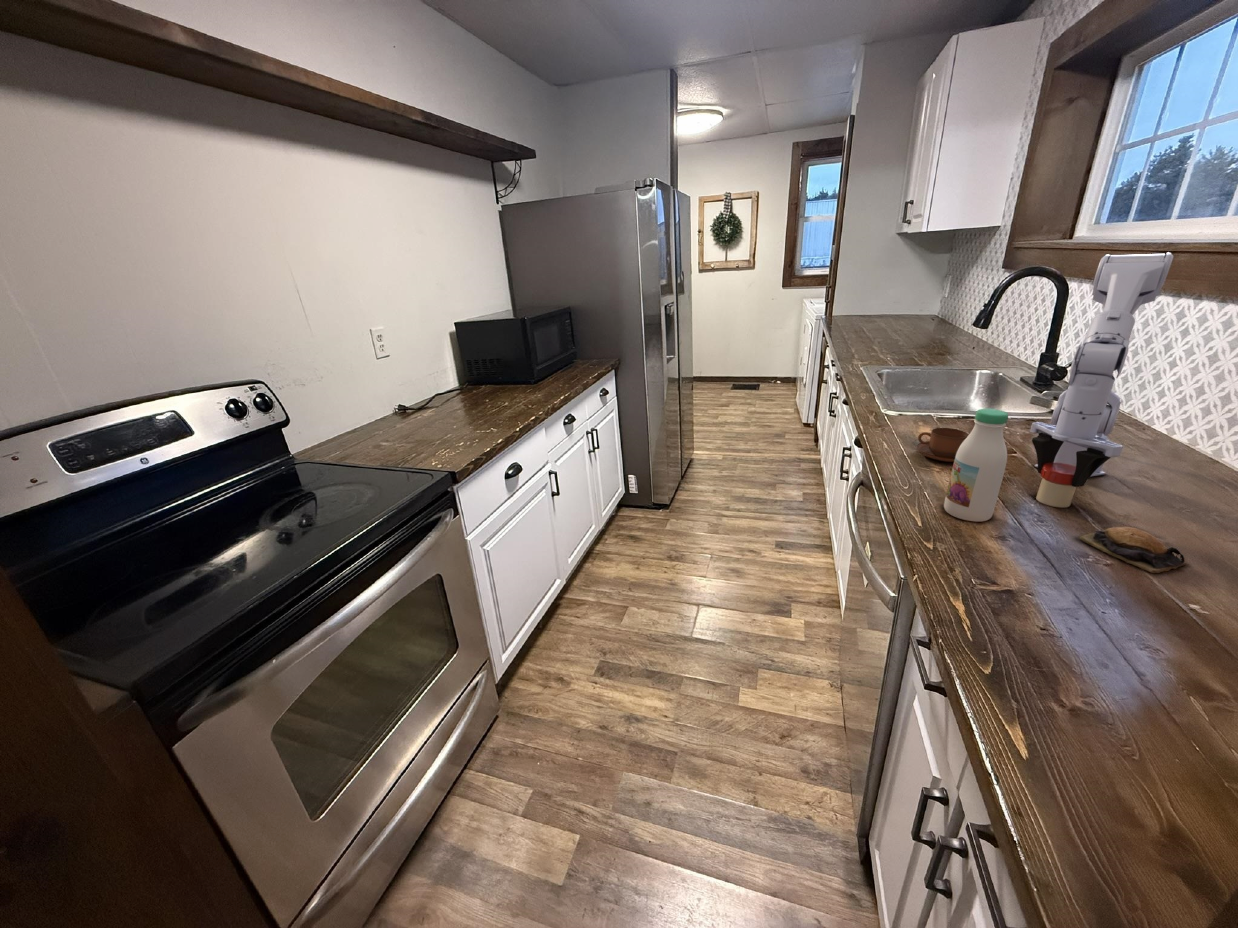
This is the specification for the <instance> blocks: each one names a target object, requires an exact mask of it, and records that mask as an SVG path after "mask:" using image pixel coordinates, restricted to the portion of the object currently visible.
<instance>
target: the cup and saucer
mask: <svg viewBox="0 0 1238 928" xmlns="http://www.w3.org/2000/svg"><path fill="white" fill-rule="evenodd" d="M968 435H969V433H968V432H966V431H964V430H961V429H957V428H951V427H935V428H933V429H932V430H931V432H926V431H924V432H920V433H919V435H918V437H917V440H918V442H919V443H918V444H917V445H916V449H917V451H918V452H919V453H920V454H921V455H923V456H924V457H926V458H929V459H932V460H935V461H939V462H946V463H954V460H955V457H956V454H957V451H958V449H959V447H960V445H961V444H962V442H963V441H964V440H965V439H966V438H967V437H968ZM924 436H928V437H929V440H926V441H924V440H923V439H922V437H924Z"/></svg>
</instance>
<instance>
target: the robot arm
mask: <svg viewBox="0 0 1238 928" xmlns="http://www.w3.org/2000/svg"><path fill="white" fill-rule="evenodd" d="M1174 257H1175V256H1174V255H1173V254H1172V252H1166V254H1165V253H1152V254H1151V253H1147V254H1112V255H1111V254H1105V255H1104V256H1103V257H1101V258H1100V261H1099V263H1098V265H1097V269H1096V272H1095V276H1094V280H1093V283H1092V285H1093V287H1092V293H1091V294H1092V300H1093V301H1094V302H1096V303H1099V304H1101V305H1102V312H1099V313H1097V314H1096V315H1094V316H1093V317H1092V319H1091V321H1090V323H1089V326H1088V329H1087V331H1086V333H1085V337H1084V339H1083V342H1082V345H1080V344H1079V345H1078V346H1077V348H1076V350H1075V353H1074V355H1073V358H1072V362H1071V366H1070V373H1069V379H1068V383H1067V385H1068V387H1067V389H1066V390H1064V391H1062V393H1061V394H1059V397H1058V399H1057V401H1056V403H1055V405H1054V409H1053V412H1052V414H1051V418H1050V422H1049V423H1046V422H1042V421H1035V422H1032V423H1031V426H1030V429H1029V433H1032V434H1037V436H1033V437H1032V439H1031V443H1032V445H1033V447H1034V450H1035V453H1036V459H1037V461H1036V462H1037V463H1036V464H1034V467H1035V468H1037V474H1040V475H1041V471H1042V467H1043V466H1044V464H1046V463H1063V464H1069V465H1073V466H1076V470H1075V473H1074V476H1073V479H1072V485H1071V486H1074V487H1076V488H1078V487H1079V488H1080V487H1084V486H1085V485H1086V483H1087V482H1088V480H1089V479H1090V478H1091V477H1098V476H1103V475H1106V472H1105V471H1103V470H1102V469H1103V466H1104V464H1105V463H1106V462H1107V461H1109V460H1110V459H1112V458H1116V457H1121V454H1122V450H1123V449H1124V445H1121V444H1118V443H1115V442H1114V441H1111V440H1110V439H1109V437H1108V435H1111V434H1112V432H1113V429H1114V427H1115V424H1116V422H1117V419H1118V418H1117V417H1118V415H1119V412H1120V407H1121V405H1122V400H1121V397H1120V396H1119V395H1118V394H1116V393H1115V392H1114V391H1113V387H1114V384H1115V382H1116V379H1118V378H1119V377H1120V375H1121V373H1122V371H1123V368H1124V365H1125V362H1126V360H1127V357H1128V353H1129V345H1130V338H1131V336H1132V332H1133V329H1134V326H1135V323H1136V319H1135V317H1134V314H1135V313H1136V312H1137V311H1138V310H1139V308H1140V307H1141V306H1142V305H1145V304H1148V303H1151V302H1155V301H1156V298H1157V297H1159V295H1160V292H1161V290H1162V287H1164V285H1165V282H1166V279H1167V277H1168V274H1169V271H1170V268H1171V266H1172V264H1173V263H1172V262H1173V260H1174ZM1115 371H1116V372H1117V374H1116V377H1115V376H1114V372H1115Z"/></svg>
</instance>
